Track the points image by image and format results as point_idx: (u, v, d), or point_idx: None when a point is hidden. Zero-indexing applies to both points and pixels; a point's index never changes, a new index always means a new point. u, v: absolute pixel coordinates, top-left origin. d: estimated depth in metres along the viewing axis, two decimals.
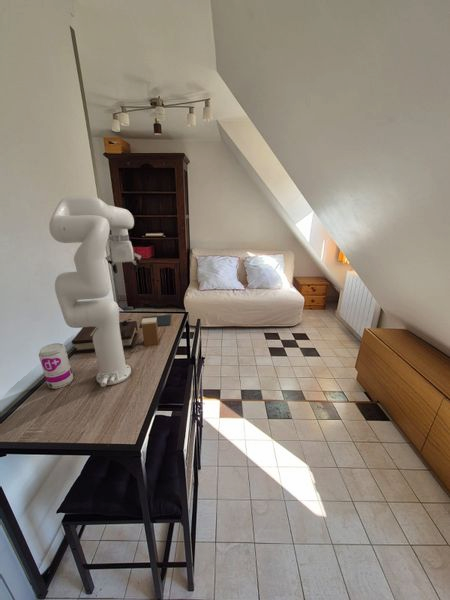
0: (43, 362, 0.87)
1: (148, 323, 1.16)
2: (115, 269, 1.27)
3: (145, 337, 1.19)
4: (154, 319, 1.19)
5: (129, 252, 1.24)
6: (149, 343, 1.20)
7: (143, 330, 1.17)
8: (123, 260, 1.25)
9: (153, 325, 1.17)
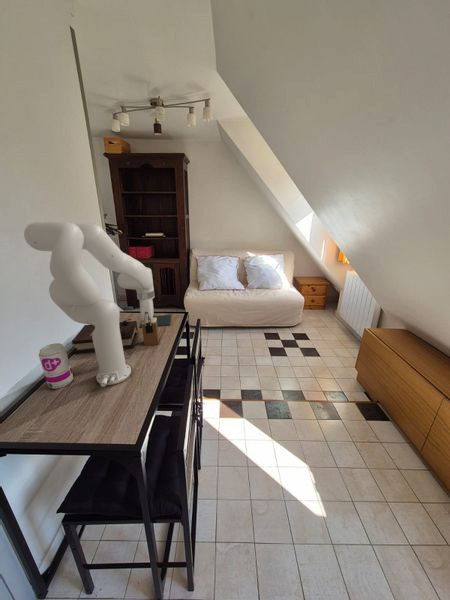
0: (43, 362, 0.87)
1: None
2: None
3: (145, 337, 1.19)
4: (154, 319, 1.19)
5: (140, 311, 1.13)
6: (149, 343, 1.20)
7: (143, 330, 1.17)
8: None
9: (153, 325, 1.17)
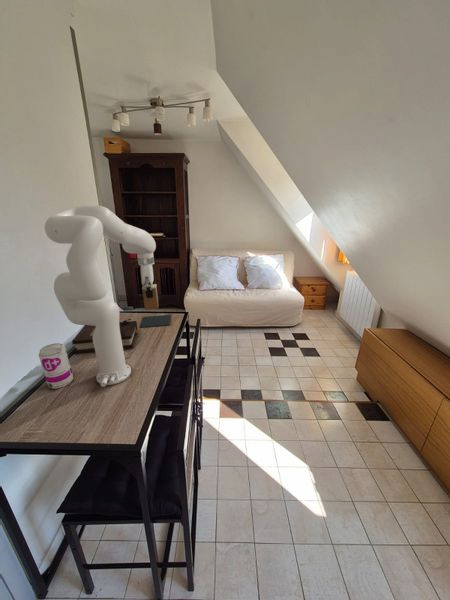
0: (43, 362, 0.87)
1: None
2: None
3: (145, 302, 1.27)
4: (154, 285, 1.28)
5: (141, 276, 1.21)
6: (149, 308, 1.29)
7: (144, 295, 1.26)
8: None
9: (153, 290, 1.26)
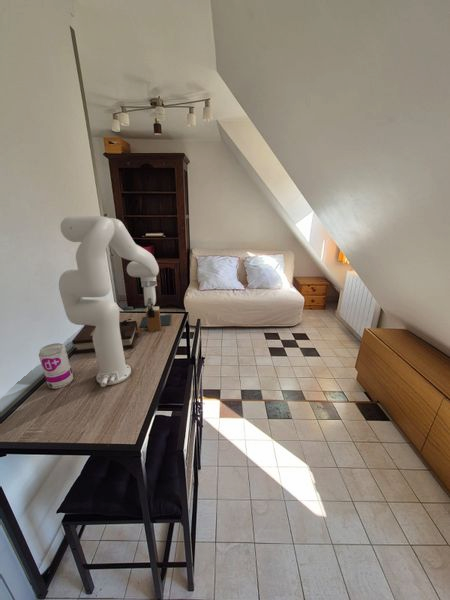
0: (43, 362, 0.87)
1: None
2: None
3: (149, 324, 1.33)
4: (157, 307, 1.33)
5: (144, 297, 1.26)
6: (152, 329, 1.34)
7: (147, 317, 1.31)
8: None
9: (156, 312, 1.31)
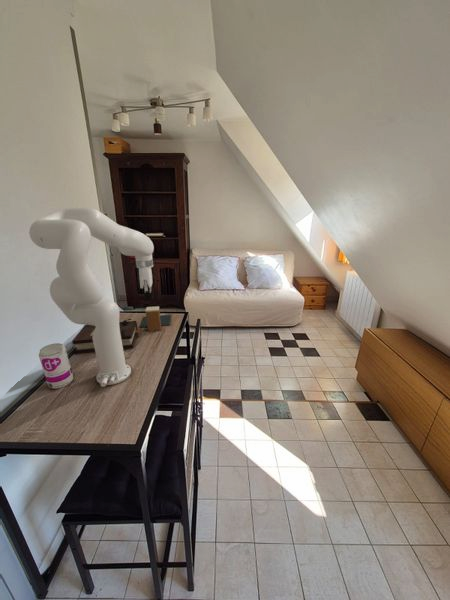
0: (43, 362, 0.87)
1: (151, 311, 1.30)
2: None
3: (149, 324, 1.33)
4: (157, 307, 1.33)
5: None
6: (152, 329, 1.34)
7: (147, 317, 1.31)
8: None
9: (156, 312, 1.31)
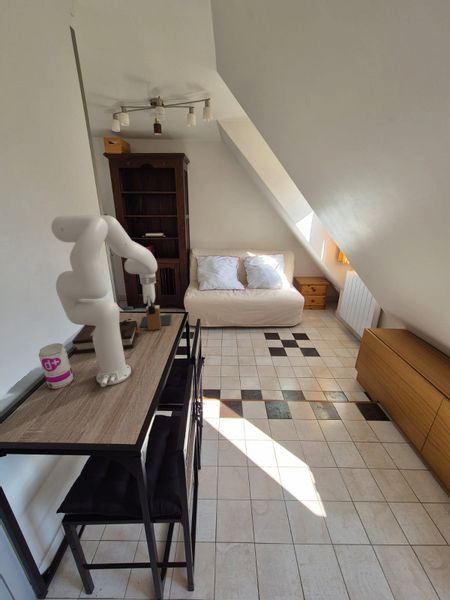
0: (43, 362, 0.87)
1: None
2: None
3: (149, 322, 1.33)
4: (157, 306, 1.35)
5: (143, 294, 1.23)
6: (152, 328, 1.34)
7: (147, 315, 1.32)
8: None
9: (156, 310, 1.32)
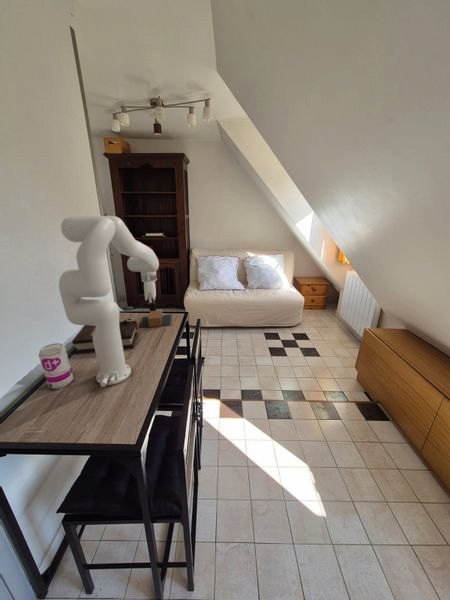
0: (43, 362, 0.87)
1: None
2: None
3: (150, 315, 1.40)
4: None
5: (144, 292, 1.27)
6: (152, 317, 1.37)
7: (150, 313, 1.44)
8: None
9: (159, 310, 1.46)
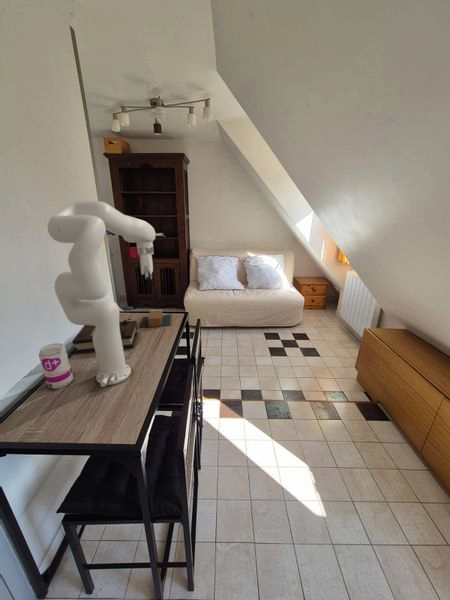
0: (43, 362, 0.87)
1: (155, 310, 1.47)
2: None
3: (150, 315, 1.40)
4: None
5: None
6: (152, 317, 1.37)
7: (150, 313, 1.44)
8: None
9: (159, 310, 1.46)
